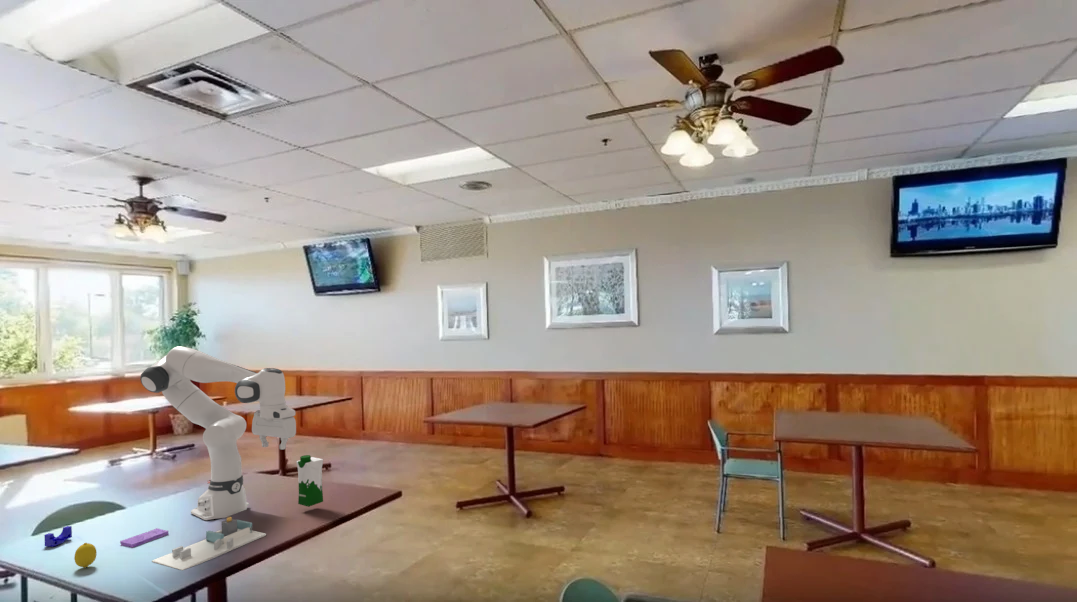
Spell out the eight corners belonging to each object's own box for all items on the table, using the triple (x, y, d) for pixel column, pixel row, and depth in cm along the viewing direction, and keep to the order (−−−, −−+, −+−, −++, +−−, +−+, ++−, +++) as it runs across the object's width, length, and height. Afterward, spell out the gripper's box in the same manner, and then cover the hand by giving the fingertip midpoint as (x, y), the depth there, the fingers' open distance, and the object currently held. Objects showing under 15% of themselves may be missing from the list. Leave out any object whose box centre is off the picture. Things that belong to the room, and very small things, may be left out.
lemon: (82, 564, 183) (82, 539, 183) (100, 563, 183) (100, 538, 183) (70, 572, 177) (69, 547, 177) (88, 571, 178) (88, 546, 178)
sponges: (168, 535, 206) (168, 530, 206) (131, 549, 195) (131, 544, 195) (157, 532, 209) (157, 527, 209) (119, 546, 198) (119, 540, 198)
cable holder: (53, 546, 198) (52, 535, 198) (44, 546, 199) (44, 534, 199) (75, 537, 206) (75, 526, 206) (67, 536, 207) (67, 526, 207)
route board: (151, 562, 183) (151, 553, 183) (236, 528, 210) (236, 520, 210) (182, 571, 176) (182, 561, 176) (266, 535, 203) (265, 526, 203)
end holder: (206, 541, 198) (206, 531, 198) (237, 528, 208) (237, 519, 208) (221, 545, 194) (220, 535, 194) (252, 532, 205) (252, 522, 205)
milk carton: (294, 504, 235) (293, 456, 235) (313, 497, 242) (312, 451, 242) (308, 508, 230) (306, 459, 230) (326, 501, 238) (325, 453, 238)
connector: (221, 536, 200) (221, 518, 200) (230, 532, 203) (230, 515, 204) (228, 537, 199) (227, 520, 199) (237, 533, 202) (236, 516, 202)
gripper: (247, 411, 214) (247, 447, 214) (284, 414, 205) (285, 452, 205) (261, 408, 220) (262, 443, 220) (298, 411, 211) (299, 448, 211)
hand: (273, 448), depth 213 cm, fingers open, 8 cm apart
